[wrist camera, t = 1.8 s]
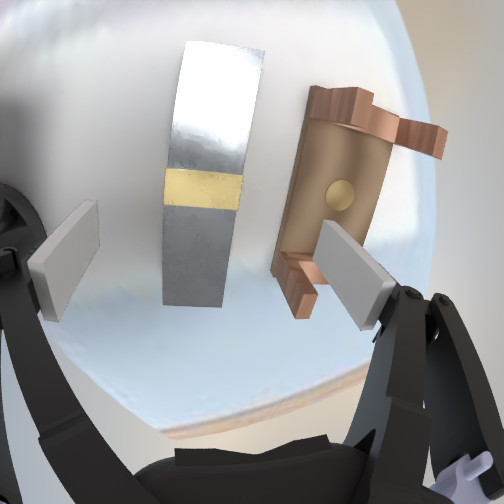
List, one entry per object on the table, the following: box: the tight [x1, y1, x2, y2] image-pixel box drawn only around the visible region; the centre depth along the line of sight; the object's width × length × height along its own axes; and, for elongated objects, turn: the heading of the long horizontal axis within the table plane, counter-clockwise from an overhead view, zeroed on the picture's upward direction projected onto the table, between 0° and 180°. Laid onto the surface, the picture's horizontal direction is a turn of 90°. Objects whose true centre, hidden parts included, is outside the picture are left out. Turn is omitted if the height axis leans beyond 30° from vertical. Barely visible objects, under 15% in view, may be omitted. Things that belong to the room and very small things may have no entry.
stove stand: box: [270, 85, 448, 319], centre depth 27 cm, size 11×22×10 cm, turn 170°
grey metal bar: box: [163, 41, 265, 308], centre depth 24 cm, size 24×6×6 cm, turn 170°
